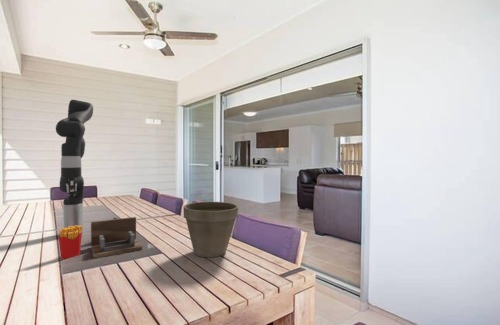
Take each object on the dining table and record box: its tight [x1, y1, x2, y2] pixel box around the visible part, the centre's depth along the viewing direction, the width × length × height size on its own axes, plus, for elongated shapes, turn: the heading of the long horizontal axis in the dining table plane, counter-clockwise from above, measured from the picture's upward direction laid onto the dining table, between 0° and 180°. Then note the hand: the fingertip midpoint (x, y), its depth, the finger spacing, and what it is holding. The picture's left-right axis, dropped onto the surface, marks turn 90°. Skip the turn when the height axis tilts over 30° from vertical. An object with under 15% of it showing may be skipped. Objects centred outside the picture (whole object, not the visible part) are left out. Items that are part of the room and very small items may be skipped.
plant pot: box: [182, 201, 239, 258], centre depth 125 cm, size 25×25×22 cm
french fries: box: [57, 225, 84, 260], centre depth 120 cm, size 9×4×13 cm, turn 150°
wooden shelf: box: [90, 216, 143, 259], centre depth 129 cm, size 17×20×12 cm
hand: (71, 203), depth 119 cm, fingers open, 8 cm apart
